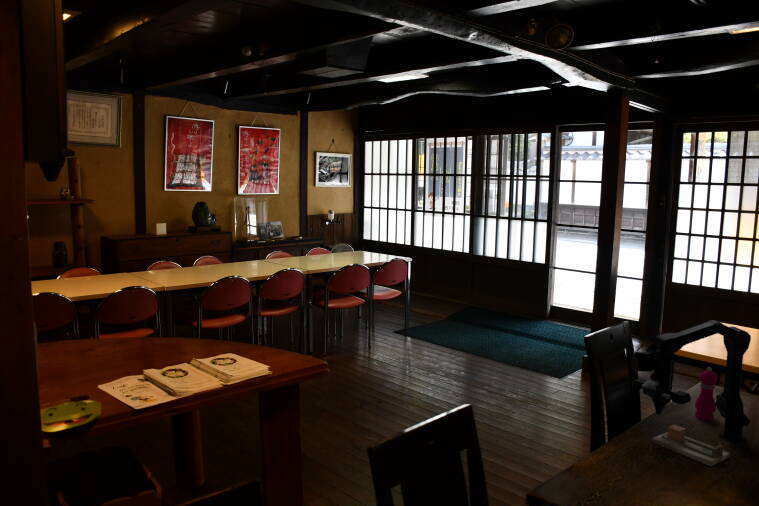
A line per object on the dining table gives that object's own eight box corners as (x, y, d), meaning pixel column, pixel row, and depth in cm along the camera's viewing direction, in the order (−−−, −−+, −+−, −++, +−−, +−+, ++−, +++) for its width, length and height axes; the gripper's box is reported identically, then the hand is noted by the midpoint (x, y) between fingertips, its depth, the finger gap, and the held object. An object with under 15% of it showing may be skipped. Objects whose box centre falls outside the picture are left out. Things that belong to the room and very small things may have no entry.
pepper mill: (717, 422, 223) (723, 371, 220) (697, 419, 224) (702, 369, 222) (711, 414, 230) (716, 365, 228) (691, 412, 231) (696, 363, 229)
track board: (670, 434, 211) (672, 422, 210) (729, 457, 194) (730, 444, 194) (651, 442, 204) (652, 429, 203) (710, 466, 187) (712, 453, 187)
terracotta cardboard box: (673, 435, 206) (674, 424, 205) (684, 439, 202) (685, 428, 202) (666, 437, 203) (668, 426, 203) (678, 442, 200) (679, 431, 200)
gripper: (624, 367, 209) (621, 409, 211) (675, 383, 194) (671, 428, 196) (642, 362, 215) (639, 403, 217) (693, 377, 200) (689, 421, 202)
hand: (658, 414), depth 208 cm, fingers closed
